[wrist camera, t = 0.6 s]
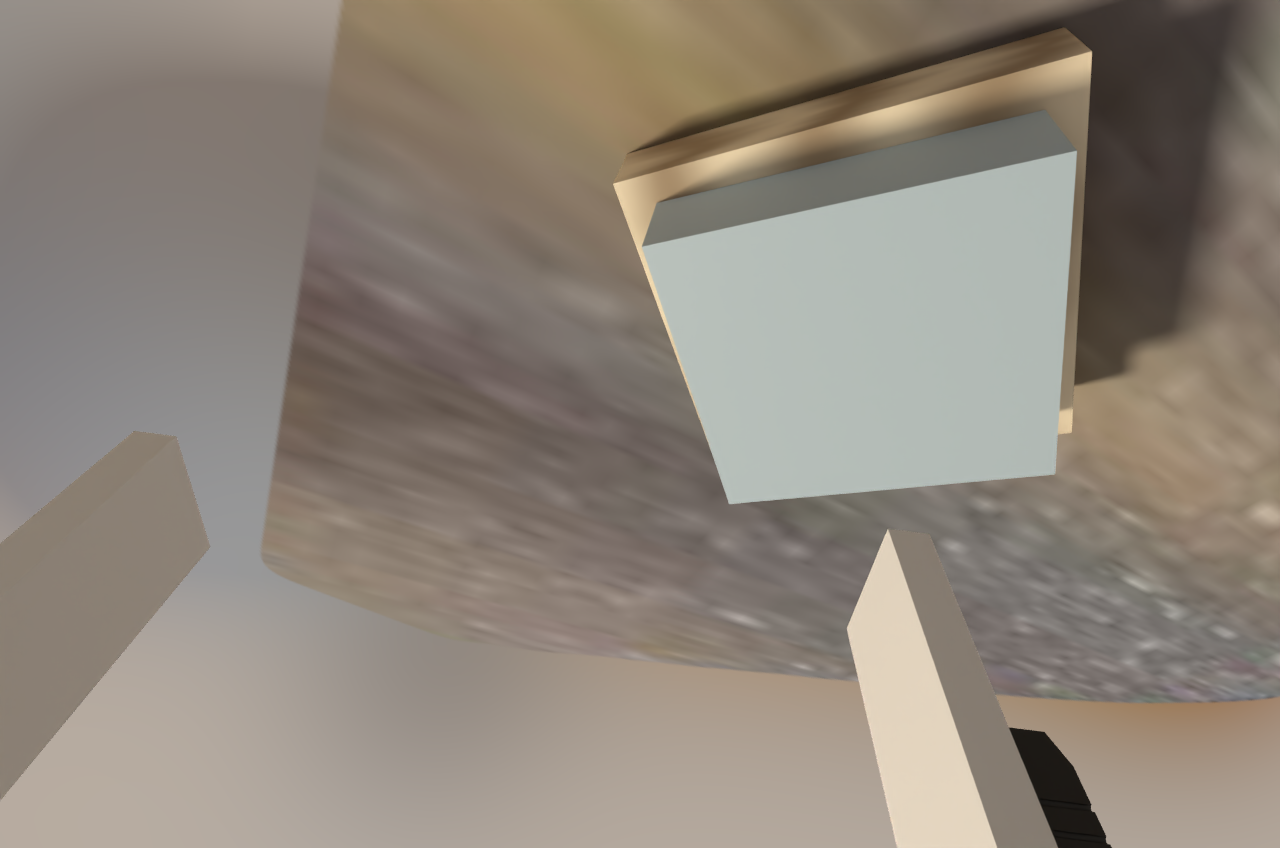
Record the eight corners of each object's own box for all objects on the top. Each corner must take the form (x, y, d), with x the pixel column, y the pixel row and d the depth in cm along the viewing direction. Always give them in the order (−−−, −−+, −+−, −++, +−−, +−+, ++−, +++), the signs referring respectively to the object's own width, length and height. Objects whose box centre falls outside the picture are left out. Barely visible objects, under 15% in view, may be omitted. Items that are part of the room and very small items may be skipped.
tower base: (1060, 23, 27) (1091, 51, 24) (1050, 383, 38) (1071, 432, 35) (629, 149, 33) (613, 183, 30) (725, 429, 44) (719, 474, 41)
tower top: (1045, 109, 26) (1076, 150, 23) (1033, 416, 35) (1054, 474, 32) (656, 203, 31) (641, 246, 28) (734, 451, 40) (729, 504, 37)
